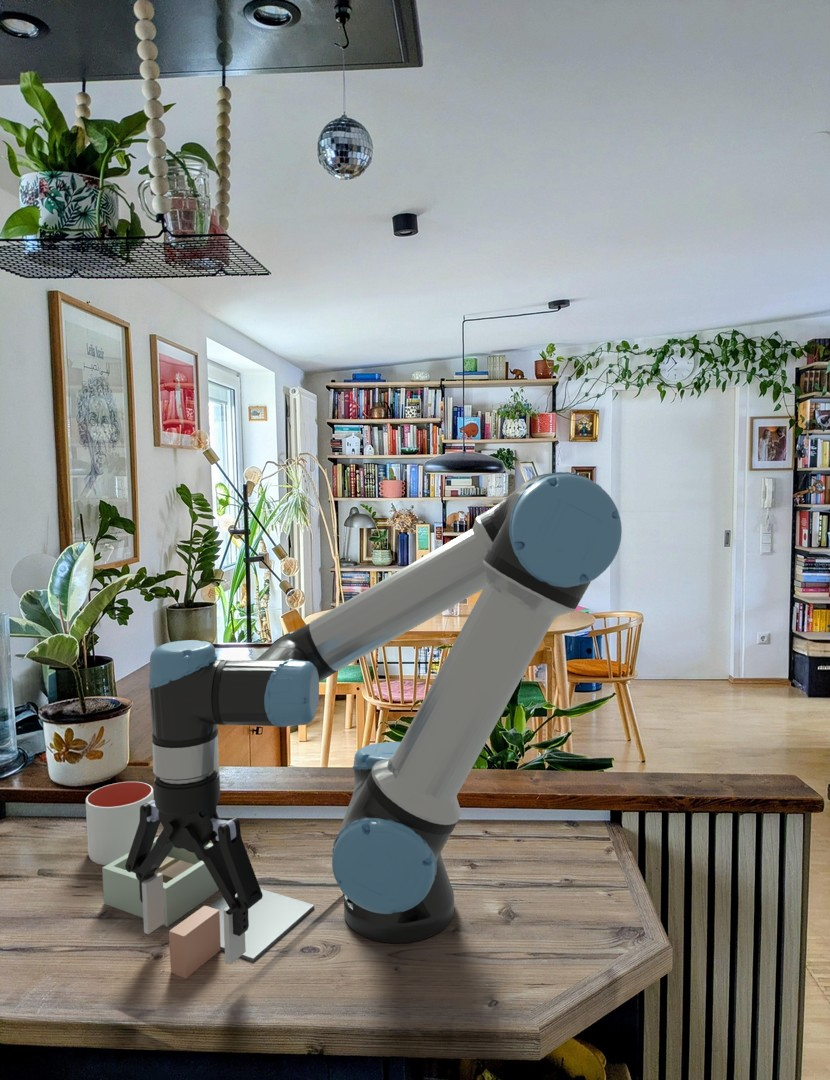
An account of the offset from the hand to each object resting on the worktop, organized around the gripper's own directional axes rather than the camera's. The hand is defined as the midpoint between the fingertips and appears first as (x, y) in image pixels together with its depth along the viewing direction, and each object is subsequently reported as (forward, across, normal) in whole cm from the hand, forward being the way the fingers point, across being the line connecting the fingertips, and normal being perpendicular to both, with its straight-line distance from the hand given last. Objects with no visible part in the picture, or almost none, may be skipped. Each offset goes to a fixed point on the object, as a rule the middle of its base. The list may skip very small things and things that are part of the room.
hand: (193, 942), depth 92 cm
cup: (+4, +30, -16) cm, 35 cm away
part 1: (+3, +17, -10) cm, 20 cm away
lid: (+4, 0, -7) cm, 8 cm away
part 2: (+3, +12, -10) cm, 16 cm away
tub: (+3, +14, -10) cm, 18 cm away
